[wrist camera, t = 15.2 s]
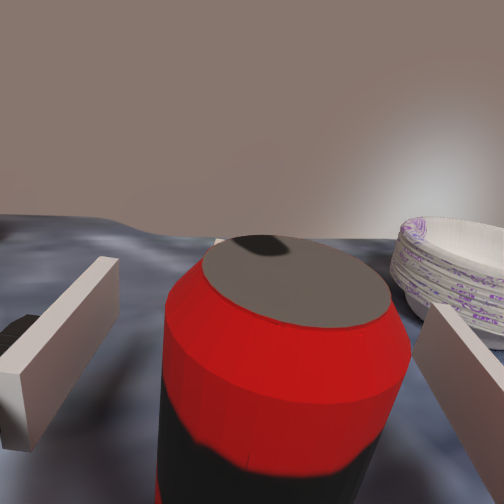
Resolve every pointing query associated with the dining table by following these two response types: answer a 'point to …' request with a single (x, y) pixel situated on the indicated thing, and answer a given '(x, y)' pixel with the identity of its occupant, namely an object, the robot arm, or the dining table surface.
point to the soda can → (275, 375)
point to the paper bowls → (454, 271)
